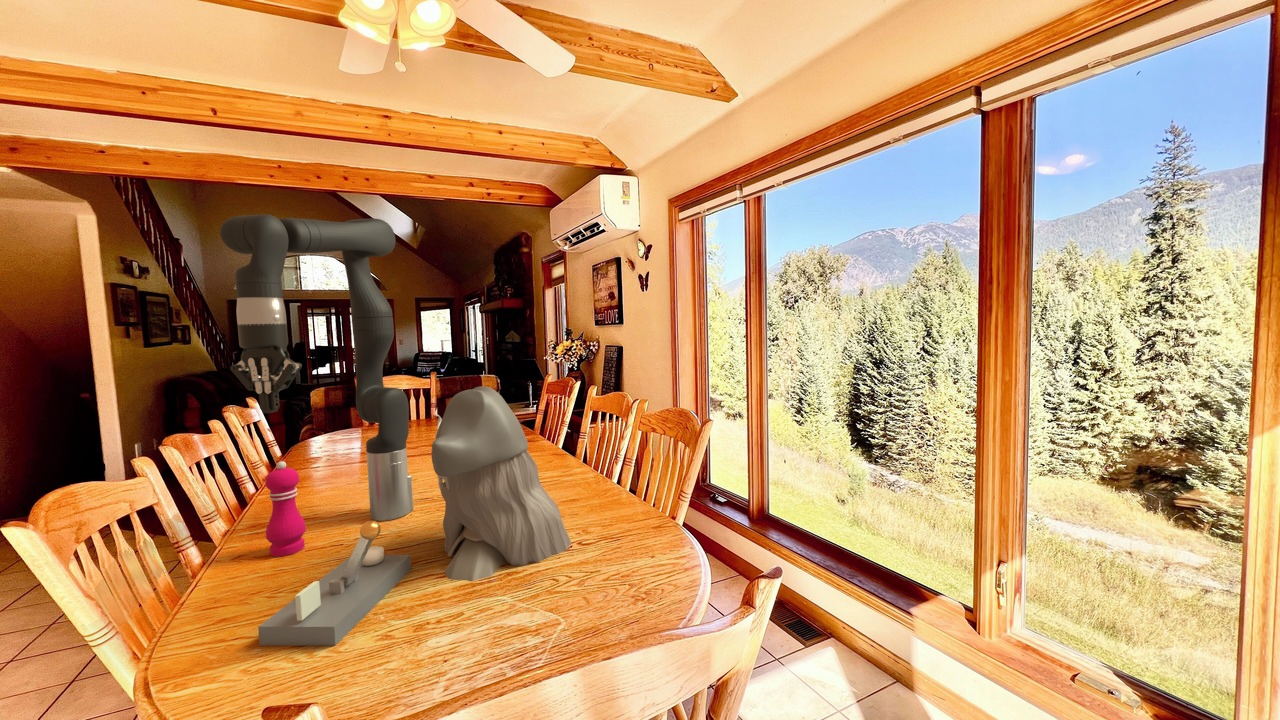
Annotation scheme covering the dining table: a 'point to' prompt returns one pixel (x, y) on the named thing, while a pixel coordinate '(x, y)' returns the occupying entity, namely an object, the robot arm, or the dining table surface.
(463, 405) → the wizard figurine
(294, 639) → the control panel
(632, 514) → the dining table surface
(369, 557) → the push button
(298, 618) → the paddle switch
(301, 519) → the pepper mill
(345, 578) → the toggle lever
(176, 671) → the dining table surface
